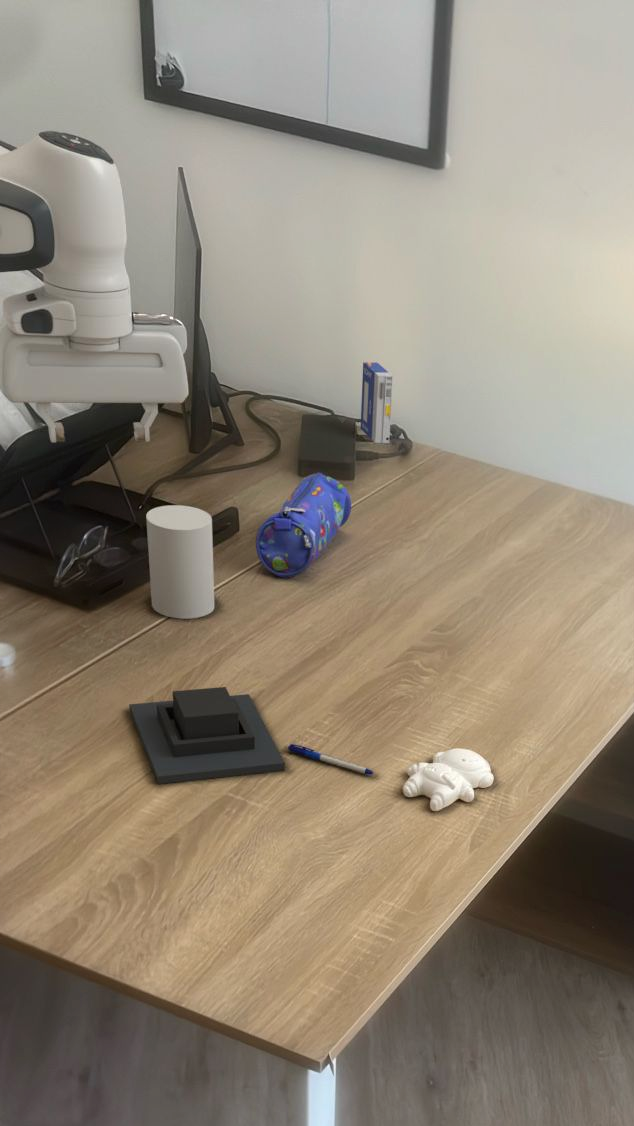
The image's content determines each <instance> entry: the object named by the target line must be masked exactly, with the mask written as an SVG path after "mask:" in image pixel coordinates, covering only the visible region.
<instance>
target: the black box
mask: <svg viewBox="0 0 634 1126" xmlns="http://www.w3.org/2000/svg"><path fill="white" fill-rule="evenodd" d="M230 696H231V695H230V693H229V691H228V689H227V687H226V686H219V687H208V688H196V689H195V688H194V689H183V690H173V691H172V701H173V708H174V723H175V725H176V727H177V729H178V732H179V734H180V736H181V739H182V740H190V739H200V738H210V737H220V736H231V735H239V716H238V711H237V709H236V707H235V705H234V703H233V701H232V699H231V697H230Z"/></svg>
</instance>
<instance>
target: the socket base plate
mask: <svg viewBox="0 0 634 1126" xmlns="http://www.w3.org/2000/svg"><path fill="white" fill-rule="evenodd" d="M230 697H231V699H232V701H233V703H234V705H235V707H236V709H237V711H238V716H239V735H231V736H220V737H210V738H200V739H190V740H182V739H181V736H180V734H179V732H178V729H177V727H176V725H175V723H174V708H173V700H165V701H163V700H162V701H153V702H141V703H140V702H139V703H129V705H128V709H129V713H130V717H131V718H132V721H133V724H134V727H135V728H136V729H135V730H136V731H137V734H138V736H139V739H140V742H141V744H142V747H143V750H144V752H145V755H146V757H147V760H148V762H149V765H150V767H151V770H152V773H153V775H154V777H155V780H156V783H157V785H163V784H172V783H181V782H190V781H191V782H192V781H200V780H209V779H218V778H226V777H235V776H245V775H255V774H263V773H272V772H281V771H282V772H283V771H286V762H285V760H284V758H283V756H282V755H281V753H280V750H279V749H278V747H277V745H276V743H275V741H274V739H273V737H272V736H271V734H270V732H269V730H268V727H267V726H266V724H265V722H264V721H263V719H262V718H263V717H261V715H260V713H259V711H258V709H257V707H256V705H255V703H254V701H253V699H252V697H251V696H250V694H249V693H247V694H235V695H230Z"/></svg>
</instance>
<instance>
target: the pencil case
mask: <svg viewBox="0 0 634 1126" xmlns="http://www.w3.org/2000/svg"><path fill="white" fill-rule="evenodd" d="M278 511H279V512H276V513H273V514H272V515H271V516H270V517H268V518H267V519H266V520H265V521H264V522H263V523H261V524H260V526H259V529H258V531H257V533H256V537H255V551H256V554H257V557H258V559H259V561H260V563H261V564H262V566H263V567H264V568H265V569H266V570H268V572H270V573H271V574H273V575H275V576H277V577H279V578H284V579H285V578H292V577H294V576H298V575H300V574H302V573H304V572H305V571H306V570H307V569H309V567H310V565H311V564H312V563H313V562H314V561H315V560H317V559H318V557H319V556H320V555H321V554H322V552H323V551H324V550H325V549H326V548H327V546H329V544H330V543H331V541H332V540H333V539H334V537H335V536H336V534H337V533H338V531H339V529H340V528H341V527H343V526H344V525H345V524H346V523H347V522H348V519H349V518H350V515H351V512H352V500H351V496H350V494H349V491H348V490H347V488H346V487H345V486H344V485H343V484H342V483H341V482H340V481H338V480H337V479H335V478H333V477H330V476H329V475H325V474H323V473H322V472H316V473H313V474H310V475H307V476H305V477H303V478H302V479H301V481H299V483H298V485H297V486H296V487H295V488H294V490H293V491H292V492H291V494H290V495H289V497H288V498H287V499H286V500H285V502H284V503H283V505H282V507H281V509H279V510H278Z"/></svg>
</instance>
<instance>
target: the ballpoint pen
mask: <svg viewBox="0 0 634 1126" xmlns="http://www.w3.org/2000/svg"><path fill="white" fill-rule="evenodd" d="M287 749H288V751H290V752H292V753H295V754H297V755H302V756H305V757H307V758H310V759H315V760H318V761H322V762H326V763H329V764H332V765H336V766H339V767H342V768H345V769H349V770H352V771H354V772H358V773H360V774H366V775H373V773H374V771H372V770H371V769H369V768H367V767H364V766H360V765H357V764H354V763H350V762H348V761H344V760H341V759H337V758H335V757H331V756H327V755H324V754H322V753H319V752H316V751H315V749H312V748H309V747H306V746H303V745H299V744H295V743H290V744H289V745H288V748H287Z"/></svg>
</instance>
